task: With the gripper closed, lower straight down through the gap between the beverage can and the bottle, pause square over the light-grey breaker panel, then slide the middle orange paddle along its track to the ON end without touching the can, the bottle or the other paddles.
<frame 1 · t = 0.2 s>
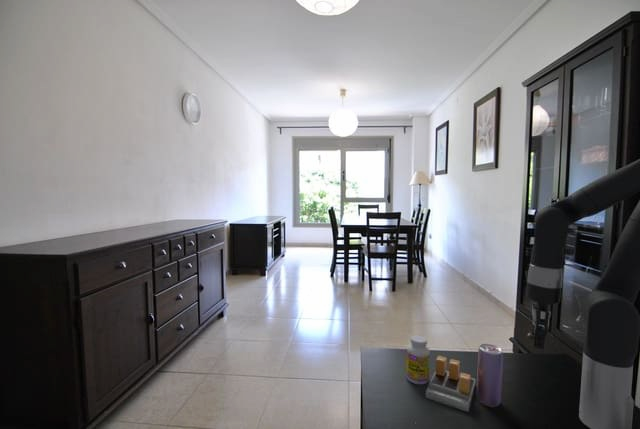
hand: (537, 341, 87), 18 cm above the table, tool pointing down, fingers open, 8 cm apart
paddle C: (464, 383, 90), point 5 cm above the table, slide at 6.3 cm
supplement bottle: (417, 379, 100), on the table
beverage can: (488, 401, 90), on the table
paddle A: (454, 369, 97), point 5 cm above the table, slide at 0.0 cm
paddle B: (441, 365, 99), point 5 cm above the table, slide at 0.0 cm
breaker panel: (451, 391, 94), on the table
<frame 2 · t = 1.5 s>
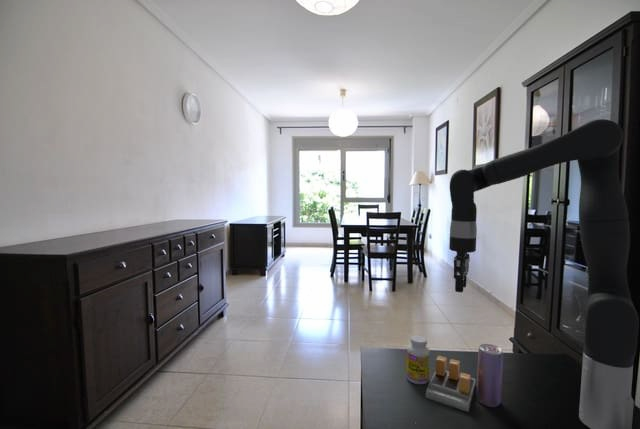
hand: (460, 289, 101), 28 cm above the table, tool pointing down, fingers open, 5 cm apart
nothing on the table moved.
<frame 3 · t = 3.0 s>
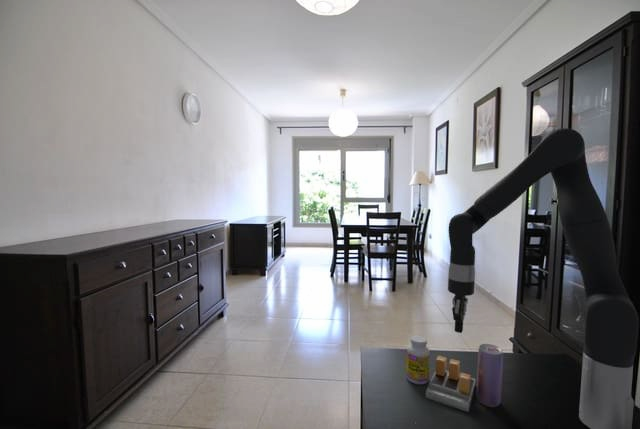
hand: (458, 331, 102), 14 cm above the table, tool pointing down, fingers closed
nothing on the table moved.
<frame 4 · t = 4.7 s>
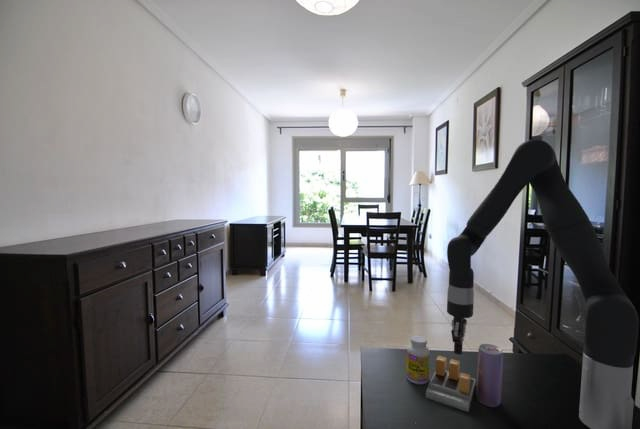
hand: (458, 353, 102), 7 cm above the table, tool pointing down, fingers closed
nothing on the table moved.
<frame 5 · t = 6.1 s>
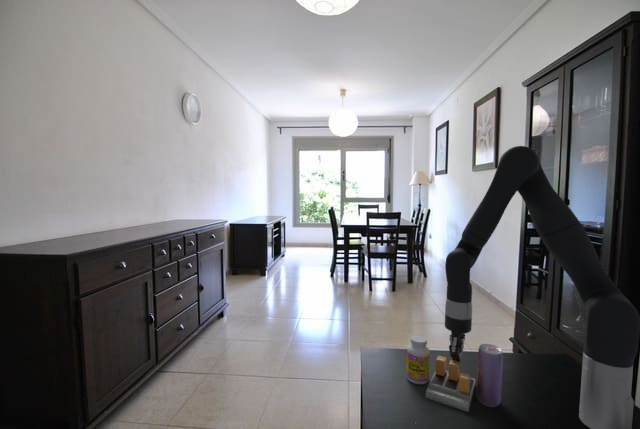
hand: (456, 368, 100), 3 cm above the table, tool pointing down, fingers closed
paddle A: (453, 369, 97), point 5 cm above the table, slide at 0.5 cm, touching gripper
everything else where it was.
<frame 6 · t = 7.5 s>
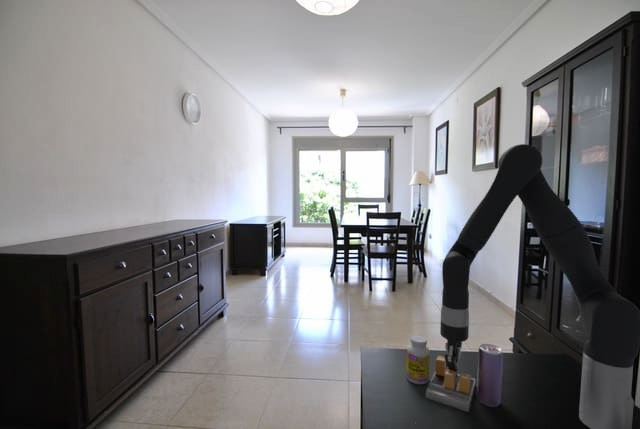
hand: (452, 377, 95), 3 cm above the table, tool pointing down, fingers closed
paddle A: (450, 380, 91), point 5 cm above the table, slide at 6.7 cm, touching breaker panel, gripper
everything else where it was.
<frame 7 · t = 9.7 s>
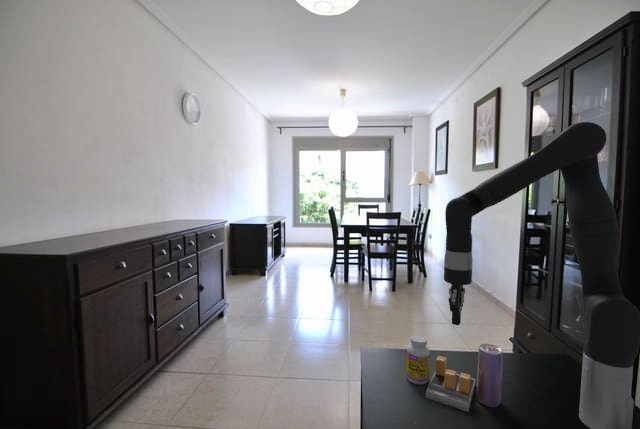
hand: (456, 323, 96), 19 cm above the table, tool pointing down, fingers closed
paddle A: (450, 379, 91), point 5 cm above the table, slide at 6.5 cm
everything else where it was.
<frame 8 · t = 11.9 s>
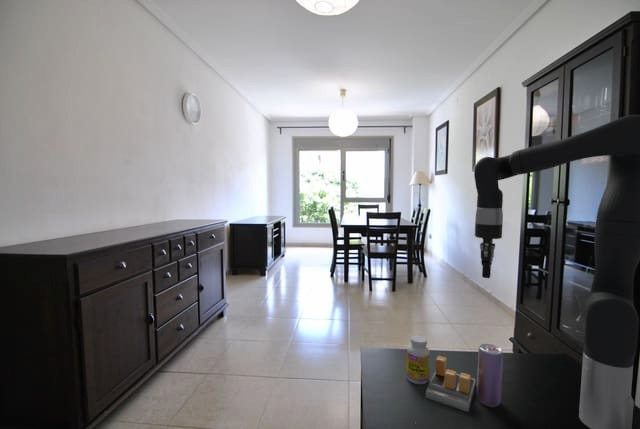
hand: (486, 277, 102), 31 cm above the table, tool pointing down, fingers closed
nothing on the table moved.
at the end: paddle A slide at 6.5 cm; beverage can moved 0.2 cm from its start; supplement bottle moved 0.2 cm from its start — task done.
